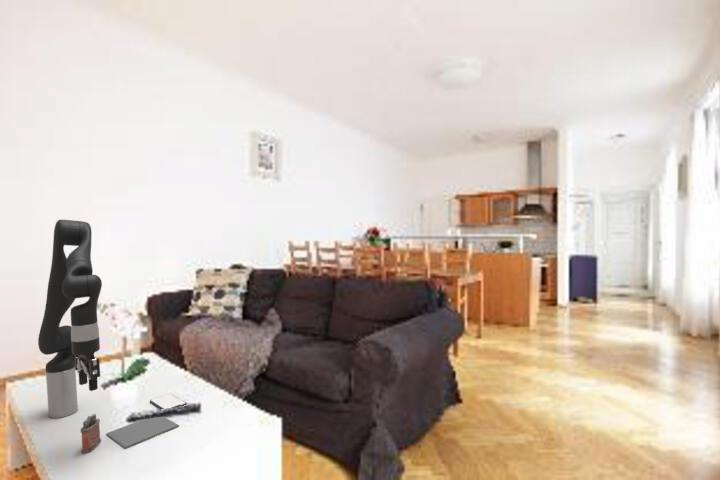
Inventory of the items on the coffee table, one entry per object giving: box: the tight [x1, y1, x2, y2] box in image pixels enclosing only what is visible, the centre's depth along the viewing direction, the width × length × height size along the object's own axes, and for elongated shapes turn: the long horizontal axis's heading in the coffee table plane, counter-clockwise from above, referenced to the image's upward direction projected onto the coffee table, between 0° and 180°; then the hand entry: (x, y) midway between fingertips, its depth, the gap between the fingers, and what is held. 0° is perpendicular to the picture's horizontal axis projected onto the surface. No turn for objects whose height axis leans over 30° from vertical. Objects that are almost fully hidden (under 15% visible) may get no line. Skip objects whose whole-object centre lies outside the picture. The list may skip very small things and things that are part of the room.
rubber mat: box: [105, 416, 180, 450], centre depth 147 cm, size 15×18×1 cm
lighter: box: [80, 413, 102, 455], centre depth 137 cm, size 8×3×10 cm, turn 5°
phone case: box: [149, 393, 188, 409], centre depth 168 cm, size 9×2×16 cm
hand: (88, 387), depth 136 cm, fingers open, 8 cm apart
